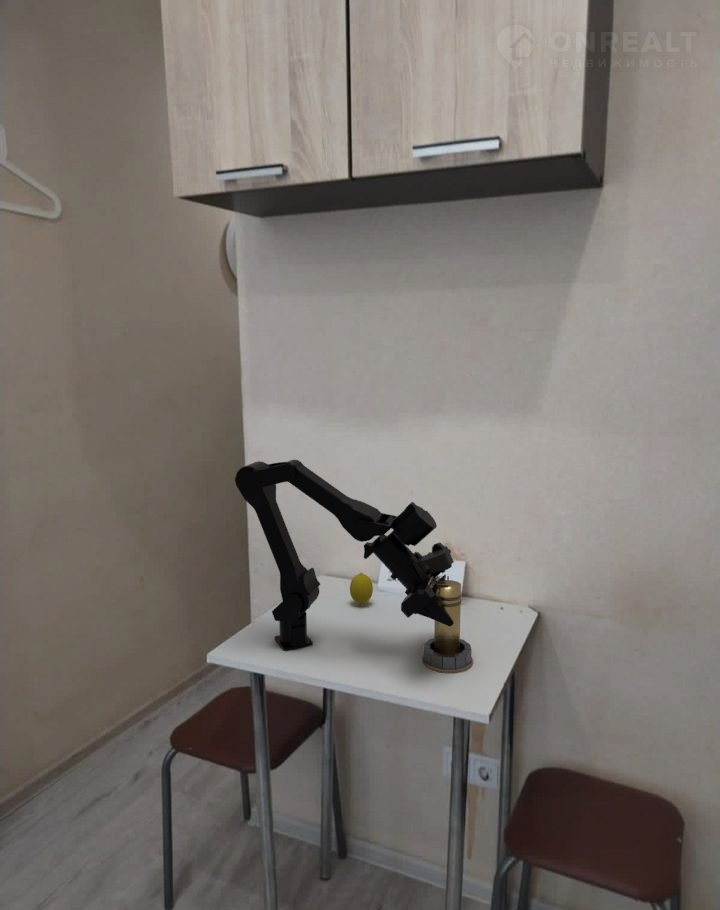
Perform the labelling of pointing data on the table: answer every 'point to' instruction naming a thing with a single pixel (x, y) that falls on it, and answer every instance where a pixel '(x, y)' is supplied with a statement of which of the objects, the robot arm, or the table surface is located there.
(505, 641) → the table surface
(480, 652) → the table surface
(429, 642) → the collar
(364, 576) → the lemon
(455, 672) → the collar plate
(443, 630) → the piston
